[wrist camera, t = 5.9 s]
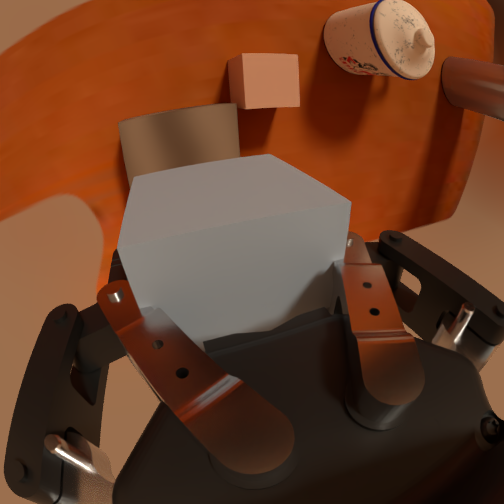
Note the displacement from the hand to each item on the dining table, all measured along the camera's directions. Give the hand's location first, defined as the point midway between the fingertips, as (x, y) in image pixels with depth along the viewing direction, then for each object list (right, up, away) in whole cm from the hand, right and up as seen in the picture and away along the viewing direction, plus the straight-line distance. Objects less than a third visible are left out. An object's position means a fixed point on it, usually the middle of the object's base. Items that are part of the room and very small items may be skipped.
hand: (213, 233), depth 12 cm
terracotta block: (+2, +16, +12) cm, 20 cm away
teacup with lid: (+15, +24, +12) cm, 31 cm away
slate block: (0, 0, +1) cm, 1 cm away
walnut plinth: (-5, +8, +14) cm, 17 cm away
